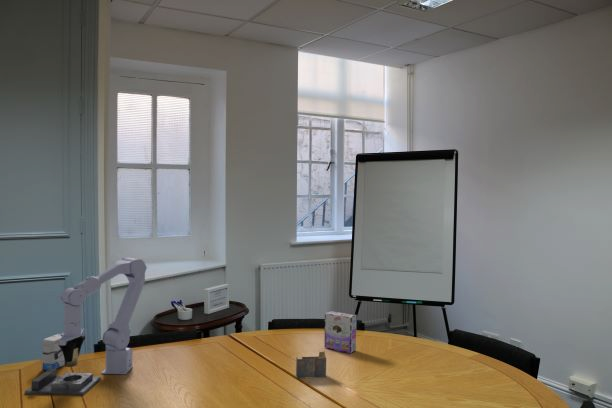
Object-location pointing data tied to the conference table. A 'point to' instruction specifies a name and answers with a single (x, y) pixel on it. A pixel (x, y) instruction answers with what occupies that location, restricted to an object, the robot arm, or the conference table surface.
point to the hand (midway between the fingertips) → (72, 359)
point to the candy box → (340, 331)
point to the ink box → (52, 353)
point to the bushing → (74, 360)
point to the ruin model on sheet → (311, 366)
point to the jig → (62, 383)
